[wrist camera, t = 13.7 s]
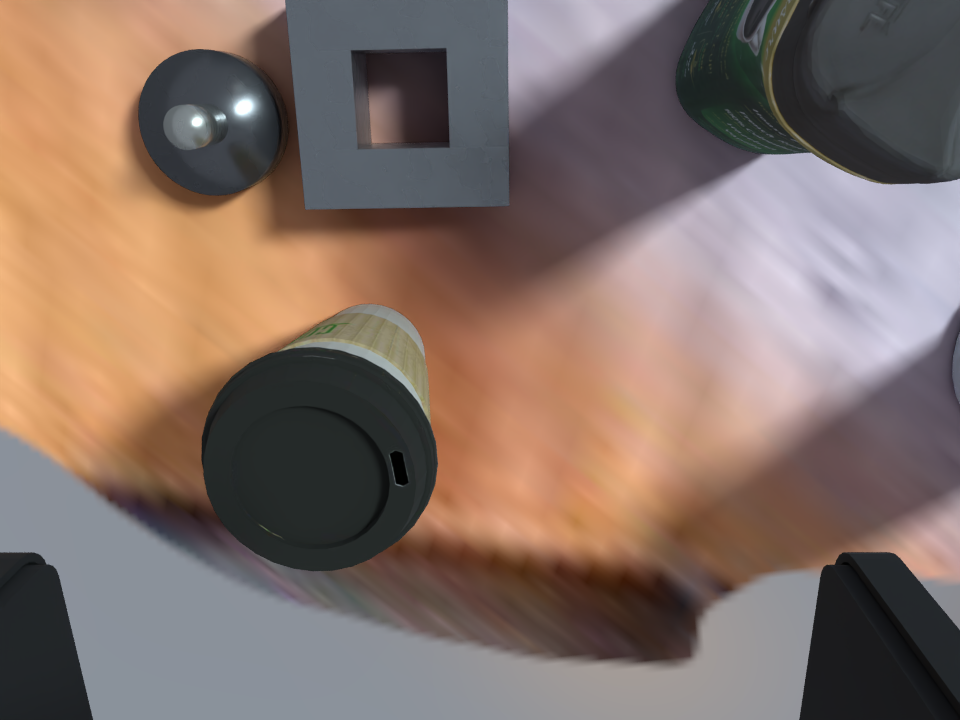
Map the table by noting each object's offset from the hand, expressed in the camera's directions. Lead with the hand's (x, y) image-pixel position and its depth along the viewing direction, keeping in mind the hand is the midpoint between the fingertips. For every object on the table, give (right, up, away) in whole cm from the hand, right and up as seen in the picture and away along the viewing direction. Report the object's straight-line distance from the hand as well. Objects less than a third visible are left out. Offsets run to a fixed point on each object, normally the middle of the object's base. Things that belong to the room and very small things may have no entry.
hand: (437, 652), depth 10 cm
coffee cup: (-6, +4, +35) cm, 36 cm away
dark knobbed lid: (-13, +16, +31) cm, 37 cm away
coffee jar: (+15, +19, +29) cm, 38 cm away
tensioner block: (-3, +17, +30) cm, 35 cm away
